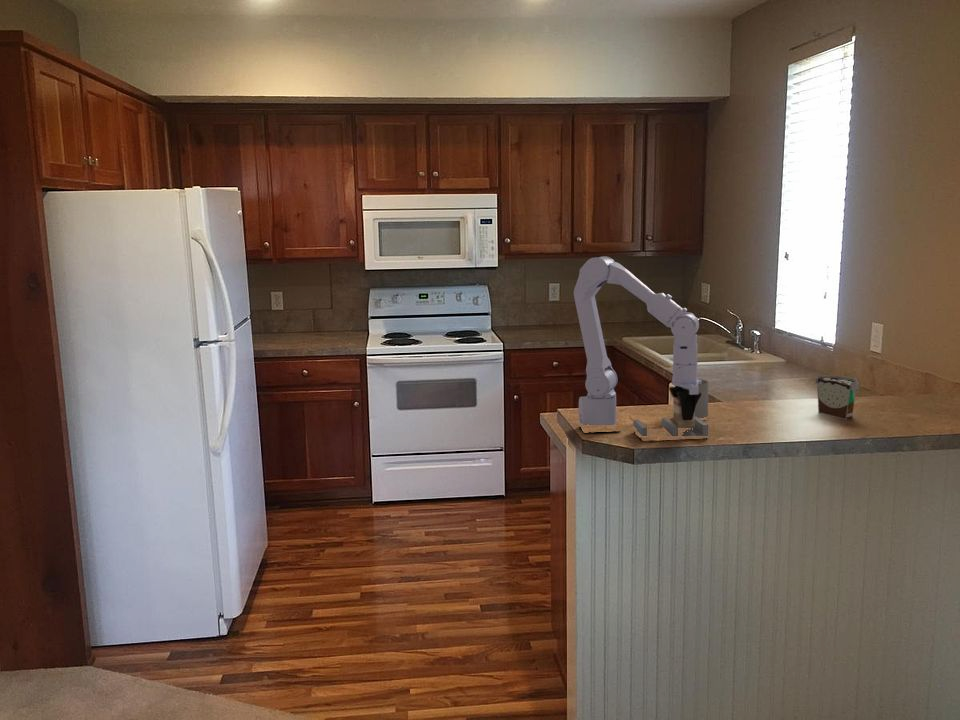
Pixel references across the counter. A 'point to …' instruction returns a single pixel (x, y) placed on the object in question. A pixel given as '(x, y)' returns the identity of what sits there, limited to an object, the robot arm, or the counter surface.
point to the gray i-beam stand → (675, 427)
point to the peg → (678, 416)
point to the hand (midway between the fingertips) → (684, 417)
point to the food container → (836, 395)
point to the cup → (702, 400)
